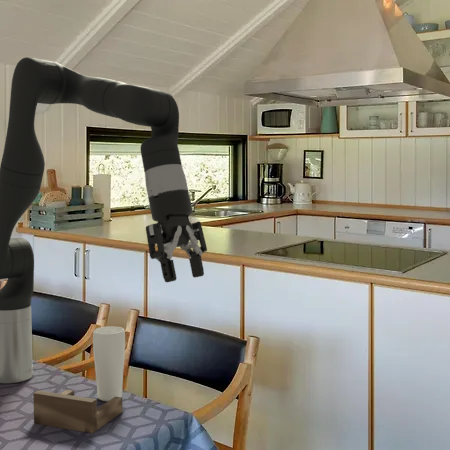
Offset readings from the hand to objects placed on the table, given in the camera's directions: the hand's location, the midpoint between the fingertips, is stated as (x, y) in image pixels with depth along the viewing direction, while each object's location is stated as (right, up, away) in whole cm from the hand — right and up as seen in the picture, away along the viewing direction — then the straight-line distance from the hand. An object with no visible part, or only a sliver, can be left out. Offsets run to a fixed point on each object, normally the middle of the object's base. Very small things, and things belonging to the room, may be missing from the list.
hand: (185, 279), depth 111 cm
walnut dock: (-22, -29, +11) cm, 38 cm away
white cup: (-18, -28, +22) cm, 39 cm away
